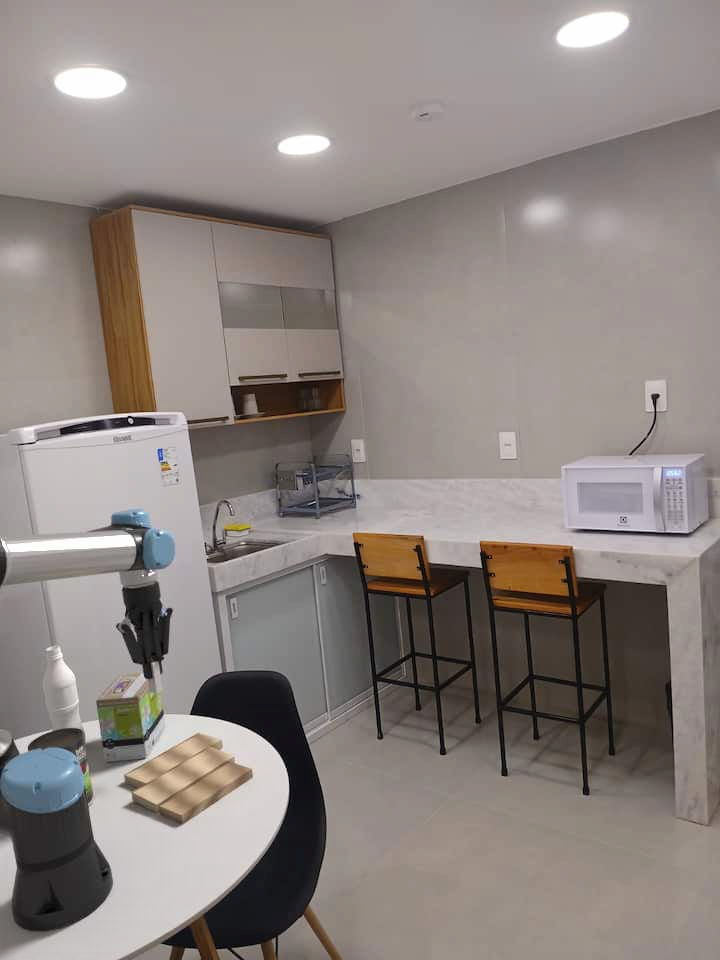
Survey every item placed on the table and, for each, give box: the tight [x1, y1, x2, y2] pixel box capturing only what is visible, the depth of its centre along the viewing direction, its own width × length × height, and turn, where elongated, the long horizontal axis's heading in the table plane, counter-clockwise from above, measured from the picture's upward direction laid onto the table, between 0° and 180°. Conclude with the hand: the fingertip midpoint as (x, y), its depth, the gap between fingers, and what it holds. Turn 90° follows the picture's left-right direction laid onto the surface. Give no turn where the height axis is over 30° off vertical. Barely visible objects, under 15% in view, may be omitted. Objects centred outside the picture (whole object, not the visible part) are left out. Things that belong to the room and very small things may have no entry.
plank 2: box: [131, 746, 236, 814], centre depth 151 cm, size 20×8×2 cm, turn 142°
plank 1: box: [123, 732, 224, 789], centre depth 159 cm, size 20×8×2 cm, turn 142°
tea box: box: [95, 672, 167, 763], centre depth 170 cm, size 15×10×15 cm
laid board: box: [158, 761, 254, 825], centre depth 145 cm, size 18×7×2 cm, turn 142°
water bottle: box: [41, 645, 87, 744], centre depth 171 cm, size 7×7×25 cm
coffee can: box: [27, 728, 95, 807], centre depth 147 cm, size 10×10×14 cm
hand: (155, 691), depth 157 cm, fingers closed
